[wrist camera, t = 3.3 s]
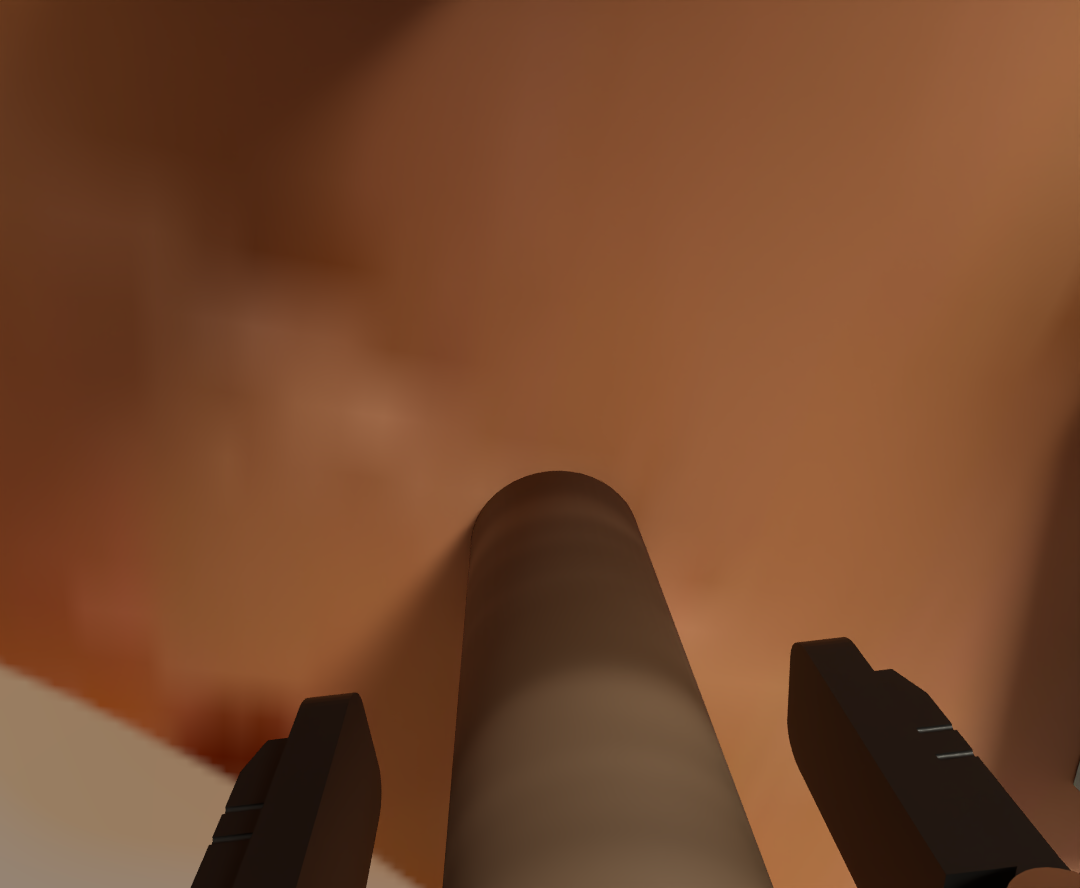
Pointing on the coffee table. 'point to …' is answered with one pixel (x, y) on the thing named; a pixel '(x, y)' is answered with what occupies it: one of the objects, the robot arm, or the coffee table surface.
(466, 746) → the peg
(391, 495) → the coffee table surface
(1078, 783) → the socket
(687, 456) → the coffee table surface
